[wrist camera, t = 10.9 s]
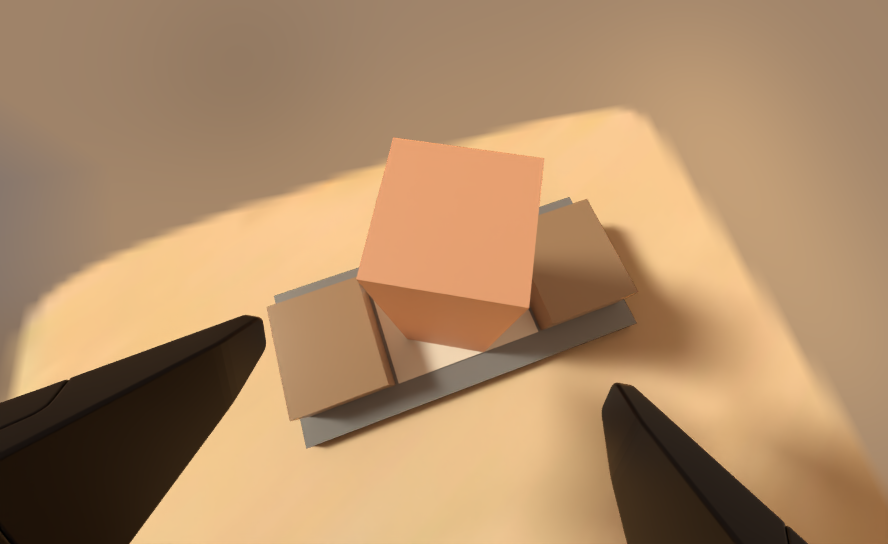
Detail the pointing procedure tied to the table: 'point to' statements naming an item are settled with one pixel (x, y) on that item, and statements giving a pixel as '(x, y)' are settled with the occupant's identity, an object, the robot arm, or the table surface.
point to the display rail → (432, 365)
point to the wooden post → (453, 242)
